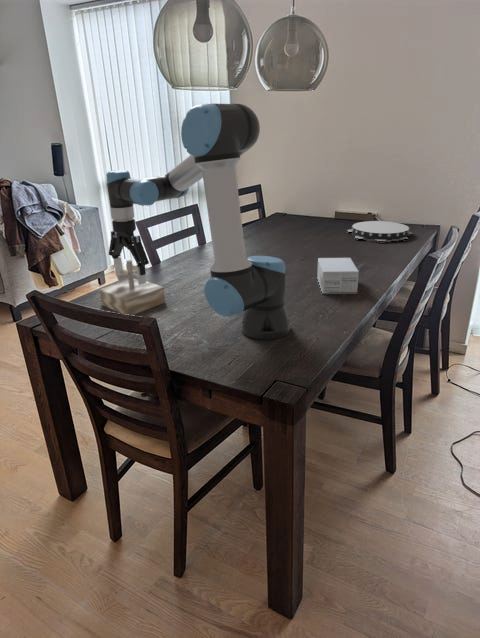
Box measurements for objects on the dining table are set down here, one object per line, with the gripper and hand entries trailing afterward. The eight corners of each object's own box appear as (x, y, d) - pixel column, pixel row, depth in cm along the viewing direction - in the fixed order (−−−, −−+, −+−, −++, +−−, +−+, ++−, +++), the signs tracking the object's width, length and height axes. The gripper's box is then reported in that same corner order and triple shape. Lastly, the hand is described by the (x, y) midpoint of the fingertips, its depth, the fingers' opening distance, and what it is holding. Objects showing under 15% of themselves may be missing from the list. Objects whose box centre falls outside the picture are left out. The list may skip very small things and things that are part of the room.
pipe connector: (152, 287, 167) (149, 260, 163) (129, 295, 160) (126, 267, 156) (134, 281, 173) (131, 255, 169) (111, 288, 166) (108, 261, 162)
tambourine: (370, 226, 273) (371, 217, 271) (424, 235, 251) (425, 226, 249) (335, 236, 252) (335, 227, 250) (390, 248, 230) (391, 238, 228)
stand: (165, 302, 169) (163, 287, 167) (128, 316, 159) (125, 299, 156) (138, 292, 179) (136, 277, 177) (101, 304, 169) (99, 289, 166)
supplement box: (316, 280, 189) (317, 257, 185) (349, 279, 188) (351, 257, 184) (321, 295, 173) (322, 271, 170) (357, 295, 173) (359, 270, 169)
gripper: (155, 222, 151) (161, 284, 160) (111, 212, 167) (119, 269, 175) (136, 226, 146) (143, 290, 155) (93, 216, 162) (101, 274, 170)
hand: (130, 279), depth 165 cm, fingers open, 13 cm apart
